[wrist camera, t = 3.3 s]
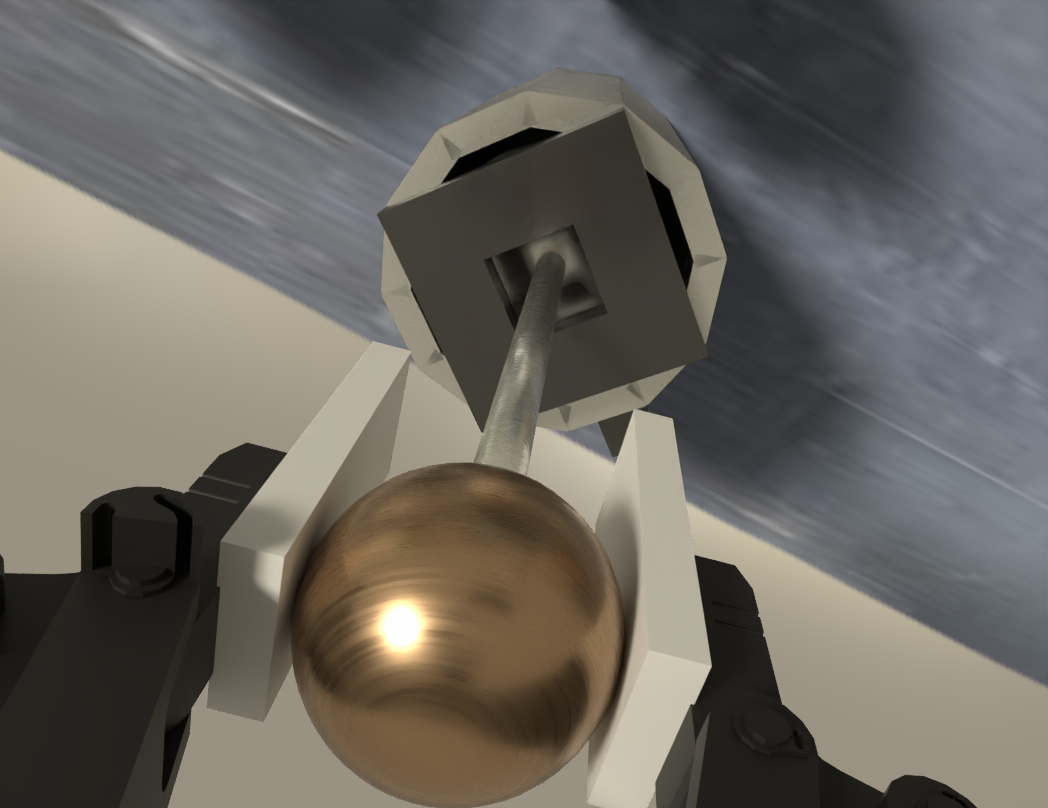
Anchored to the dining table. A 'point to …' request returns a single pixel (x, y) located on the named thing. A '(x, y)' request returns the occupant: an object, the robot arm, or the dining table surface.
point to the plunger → (468, 595)
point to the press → (538, 210)
